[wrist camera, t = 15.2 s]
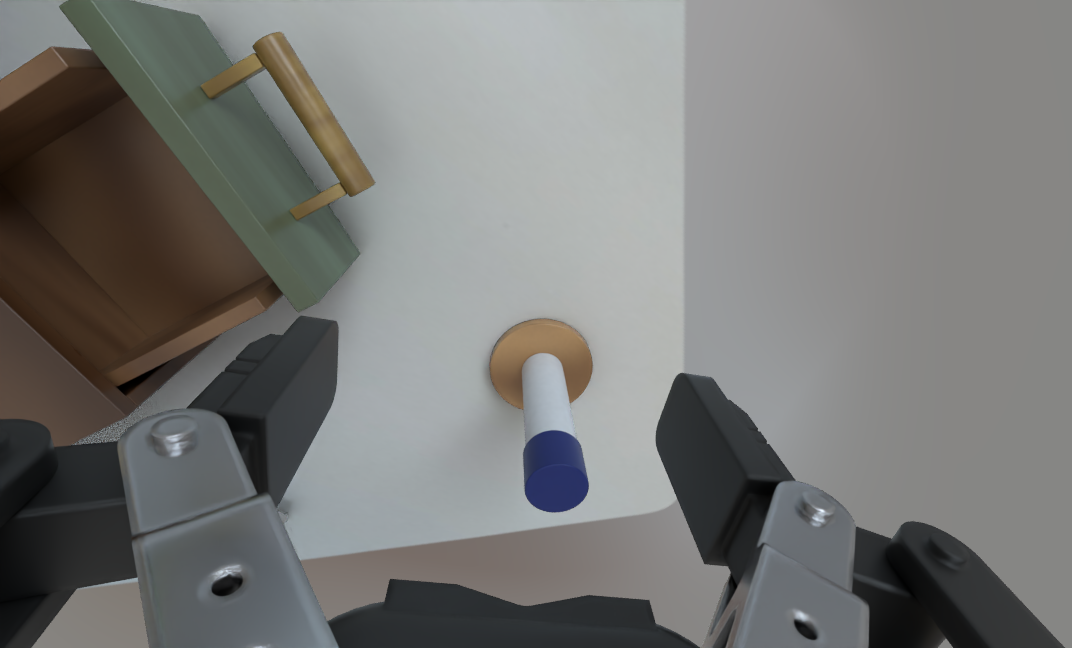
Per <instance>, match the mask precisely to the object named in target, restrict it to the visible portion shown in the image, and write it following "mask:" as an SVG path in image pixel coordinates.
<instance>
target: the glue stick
mask: <svg viewBox="0 0 1072 648" xmlns="http://www.w3.org/2000/svg"><path fill="white" fill-rule="evenodd" d="M522 386H523V406H524V425H525V445H526V446H525V448H524V452H523V463H524V486H525V495H526V497H527V499H528V501H529V502H530V503H531V504H532V505H533V506H535V507H536V508H538V509H540V510H543V511H546V512H563V511H567V510H570V509H572V508H574V507H576V506H577V505H579V504H580V503H581V502H582V501H583V500H584V498H585V497H586V495H587V493H588V489H589V483H588V478H587V473H586V468H585V463H584V458H583V453H582V448H581V445H580V443H579V442H578V440H577V438H576V433H575V427H574V422H573V417H572V412H571V407H570V402H569V397H568V392H567V387H566V382H565V376H564V371H563V367H562V364H561V362H560V360H559V359H558V358H557V357H555V356H553V355H551V354H548V353H538V354H535V355H533V356H531V357H529V358H528V359H527V360H526V361H525V363H524V364H523V367H522Z"/></svg>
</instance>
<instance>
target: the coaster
mask: <svg viewBox="0 0 1072 648" xmlns="http://www.w3.org/2000/svg"><path fill="white" fill-rule="evenodd" d="M538 353H548V354H551V355H553V356H555V357H557V358H558V359H559V360H560V362H561V364H562V367H563V371H564V376H565V382H566V387H567V392H568V397H569V402H570V403H571V402H573V401H574V400H576V399H577V398H578V397H579V396H580V395H581V394H582V393H583V391H584V390H585V389H586V387H587V385H588V383H589V381H590V378H591V374H592V366H593V365H592V358H591V354H590V350H589V348H588V345H587V343H586V342H585V340H584V338H583V337H582V336H581V335H580V334H579V333H578V332H577V331H576V330H575V329H573V328H572V327H570V326H568V325H566V324H564V323H562V322H559V321H555V320H549V319H535V320H530V321H526V322H523V323H520V324H518V325H516V326H514V327H512V328H511V329H509V330H508V331H507V332H506V333H504V334H503V335H502V336H501V338H500V339H499V340H498V341H497V343H496V345H495V346H494V349H493V351H492V355H491V360H490V376H491V380H492V383H493V385H494V387H495V389H496V391H497V392H498V393H499V395H500V396H501V397H502V398H503V399H504V400H506V401H507V402H508V403H510V404H511V405H513V406H515V407H517V408H519V409H523V410H524V406H523V386H522V367H523V364H524V363H525V361H526V360H527V359H528V358H529V357H531V356H533V355H535V354H538Z"/></svg>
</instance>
